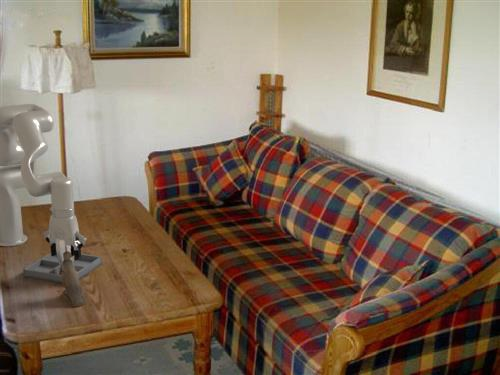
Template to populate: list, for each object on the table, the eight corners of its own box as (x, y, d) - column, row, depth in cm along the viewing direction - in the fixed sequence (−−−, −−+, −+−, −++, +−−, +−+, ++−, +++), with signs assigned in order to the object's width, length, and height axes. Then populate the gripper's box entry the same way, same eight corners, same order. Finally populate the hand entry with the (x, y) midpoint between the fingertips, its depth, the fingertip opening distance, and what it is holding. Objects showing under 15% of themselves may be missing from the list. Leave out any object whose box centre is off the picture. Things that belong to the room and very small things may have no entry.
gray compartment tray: (23, 276, 233) (23, 269, 233) (56, 256, 252) (56, 249, 251) (71, 285, 227) (71, 277, 226) (101, 264, 246) (101, 256, 245)
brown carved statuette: (62, 301, 221) (54, 250, 219) (77, 297, 224) (70, 247, 222) (72, 308, 211) (64, 255, 209) (88, 304, 214) (80, 252, 211)
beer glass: (71, 279, 229) (69, 240, 225) (54, 277, 231) (51, 238, 227) (80, 272, 236) (78, 234, 232) (63, 270, 237) (61, 232, 233)
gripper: (35, 212, 226) (39, 257, 231) (78, 218, 220) (81, 264, 225) (48, 206, 232) (51, 249, 237) (90, 212, 227) (92, 256, 232)
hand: (66, 257), depth 231 cm, fingers open, 9 cm apart
